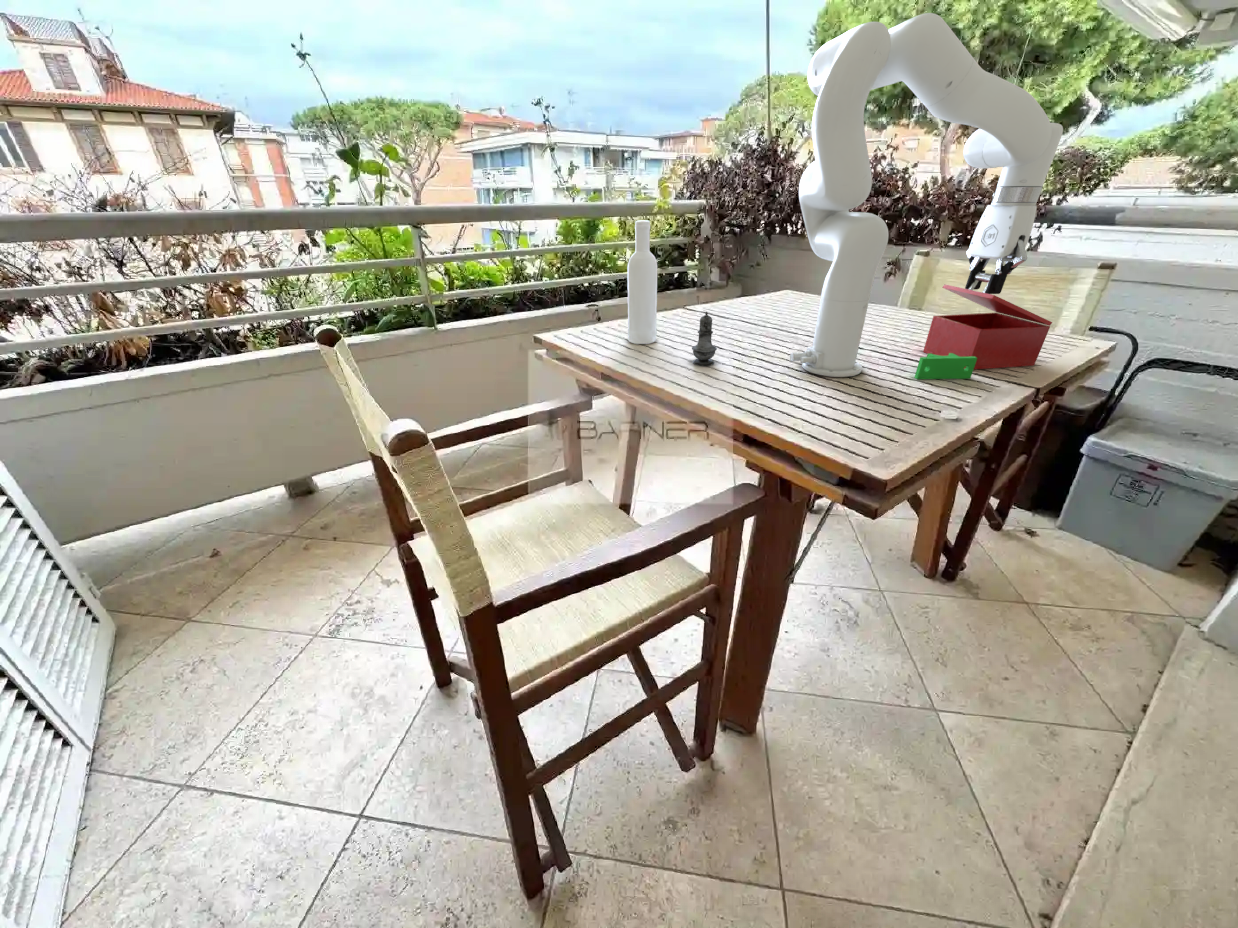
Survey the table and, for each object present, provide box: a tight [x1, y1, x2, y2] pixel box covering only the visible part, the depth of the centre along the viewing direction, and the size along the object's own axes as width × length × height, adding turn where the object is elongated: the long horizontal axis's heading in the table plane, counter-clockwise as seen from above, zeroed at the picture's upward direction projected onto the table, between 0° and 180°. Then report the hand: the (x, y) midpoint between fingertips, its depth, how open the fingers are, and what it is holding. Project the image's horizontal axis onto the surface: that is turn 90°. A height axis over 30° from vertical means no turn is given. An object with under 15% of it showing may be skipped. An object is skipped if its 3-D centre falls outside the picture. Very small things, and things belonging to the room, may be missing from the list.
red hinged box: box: [922, 312, 1051, 370], centre depth 112 cm, size 17×15×9 cm
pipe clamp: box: [914, 353, 977, 380], centre depth 103 cm, size 11×4×5 cm, turn 89°
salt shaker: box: [691, 311, 718, 367], centre depth 113 cm, size 6×6×12 cm
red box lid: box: [942, 272, 1053, 327], centre depth 108 cm, size 18×15×5 cm
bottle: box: [627, 219, 658, 345], centre depth 127 cm, size 8×8×30 cm
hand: (982, 290), depth 107 cm, fingers closed on red box lid, 5 cm apart
